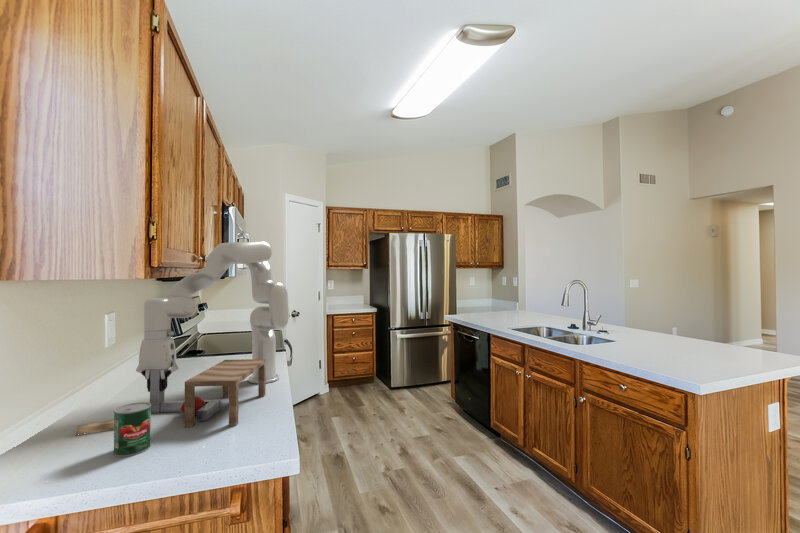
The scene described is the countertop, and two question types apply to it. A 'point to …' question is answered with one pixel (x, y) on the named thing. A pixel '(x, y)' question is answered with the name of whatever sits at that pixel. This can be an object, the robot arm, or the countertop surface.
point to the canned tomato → (132, 429)
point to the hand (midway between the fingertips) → (157, 389)
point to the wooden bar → (95, 427)
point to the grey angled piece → (174, 406)
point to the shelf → (224, 385)
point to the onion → (198, 404)
